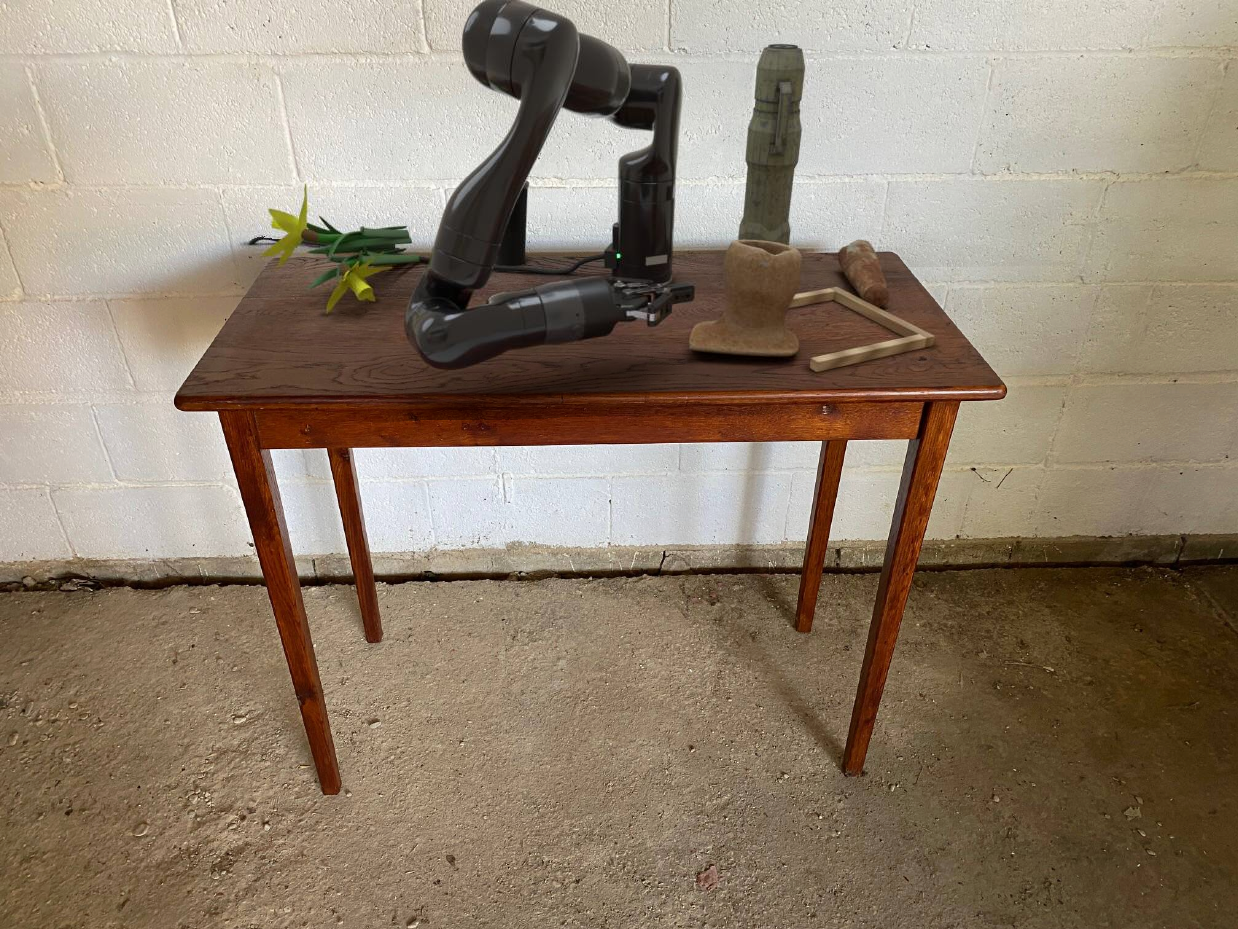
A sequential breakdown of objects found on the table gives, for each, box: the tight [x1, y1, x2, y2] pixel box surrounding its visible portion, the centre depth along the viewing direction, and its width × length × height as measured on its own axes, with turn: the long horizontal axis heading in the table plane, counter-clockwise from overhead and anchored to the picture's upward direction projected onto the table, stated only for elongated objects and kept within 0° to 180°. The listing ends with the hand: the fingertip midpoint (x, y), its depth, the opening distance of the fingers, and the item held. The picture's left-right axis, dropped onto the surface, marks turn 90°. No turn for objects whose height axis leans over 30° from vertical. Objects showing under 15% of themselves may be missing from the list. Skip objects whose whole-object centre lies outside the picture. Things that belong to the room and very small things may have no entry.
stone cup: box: [688, 239, 803, 357], centre depth 115 cm, size 15×12×15 cm
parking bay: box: [788, 286, 935, 373], centre depth 124 cm, size 20×22×2 cm
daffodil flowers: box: [260, 183, 422, 315], centre depth 132 cm, size 17×15×35 cm
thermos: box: [737, 43, 806, 246], centre depth 140 cm, size 9×12×35 cm
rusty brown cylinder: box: [837, 239, 890, 308], centre depth 137 cm, size 6×19×6 cm, turn 175°
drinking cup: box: [496, 179, 530, 266], centre depth 144 cm, size 8×8×20 cm
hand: (691, 291), depth 110 cm, fingers closed
